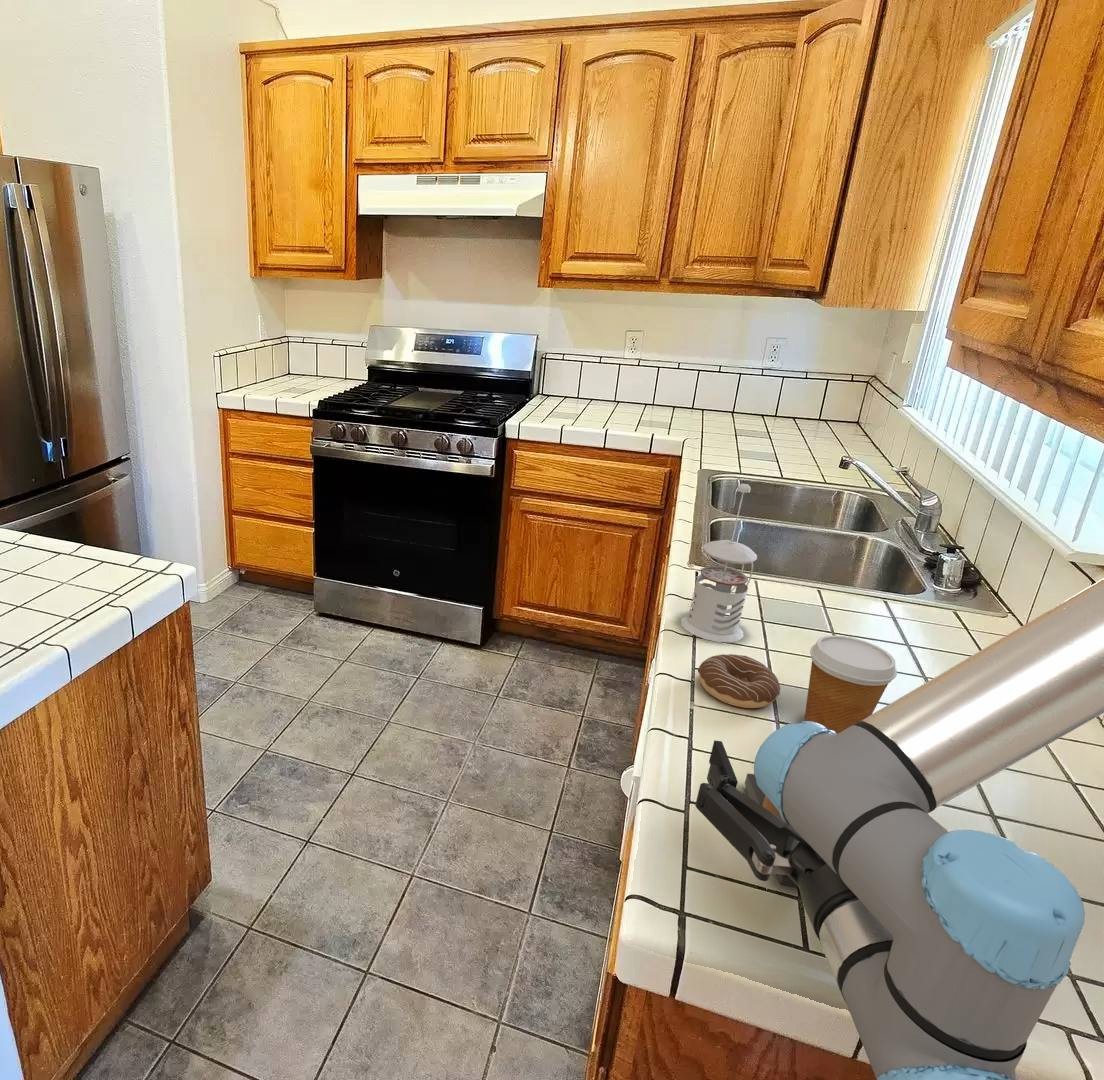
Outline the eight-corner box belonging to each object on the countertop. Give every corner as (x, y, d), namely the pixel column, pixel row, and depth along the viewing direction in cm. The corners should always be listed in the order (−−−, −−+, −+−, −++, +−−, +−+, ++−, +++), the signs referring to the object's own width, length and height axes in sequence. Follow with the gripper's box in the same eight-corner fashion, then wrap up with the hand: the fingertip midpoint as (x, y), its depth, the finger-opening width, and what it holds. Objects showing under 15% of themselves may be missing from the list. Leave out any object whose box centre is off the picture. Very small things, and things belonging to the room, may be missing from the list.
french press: (668, 622, 126) (697, 479, 117) (710, 607, 132) (741, 470, 123) (720, 647, 119) (756, 497, 109) (762, 631, 125) (800, 487, 116)
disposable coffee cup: (773, 717, 101) (795, 638, 97) (826, 706, 104) (849, 629, 100) (834, 761, 93) (861, 677, 88) (889, 747, 96) (918, 665, 92)
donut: (740, 668, 113) (746, 645, 111) (794, 708, 103) (801, 683, 102) (679, 676, 110) (685, 652, 109) (728, 717, 101) (735, 692, 99)
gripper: (692, 936, 62) (653, 772, 81) (1028, 995, 58) (903, 809, 78) (711, 865, 59) (665, 713, 79) (1065, 923, 56) (925, 749, 75)
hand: (783, 760), depth 78 cm, fingers open, 13 cm apart
